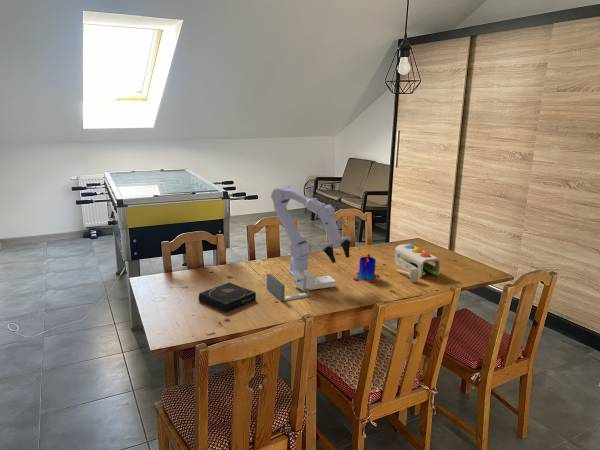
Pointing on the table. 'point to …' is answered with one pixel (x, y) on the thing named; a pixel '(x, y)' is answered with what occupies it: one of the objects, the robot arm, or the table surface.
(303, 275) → the gauge plate
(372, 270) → the fantasy tower
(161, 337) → the table surface
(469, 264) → the table surface
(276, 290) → the grey plate with rod
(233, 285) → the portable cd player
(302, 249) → the robot arm
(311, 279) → the bracket
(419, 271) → the pound a ball toy
